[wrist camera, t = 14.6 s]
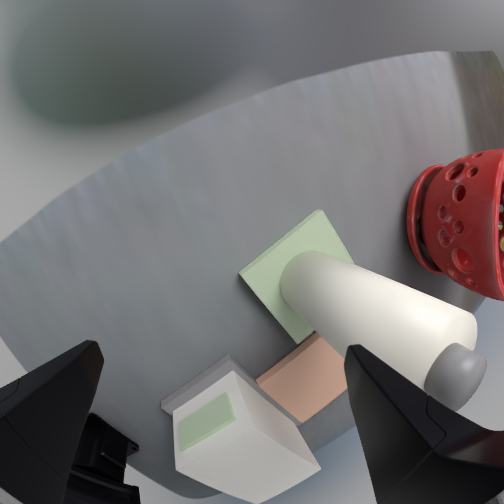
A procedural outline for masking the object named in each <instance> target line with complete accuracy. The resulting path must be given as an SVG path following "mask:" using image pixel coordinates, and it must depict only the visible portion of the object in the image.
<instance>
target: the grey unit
mask: <svg viewBox="0 0 504 504" xmlns="http://www.w3.org/2000/svg"><path fill="white" fill-rule="evenodd" d="M161 408H162V409H163V410H164V411H166V412H167V413H169V414H170V415H171V416H173V430H174V450H175V465H176V471H178V472H180V473H182V474H184V475H186V476H188V477H190V478H192V479H194V480H197V481H199V482H201V483H203V484H205V485H208V486H210V487H212V488H214V489H217V490H219V491H222V492H224V493H227V494H229V495H232V496H235V497H237V498H240V499H243V500H246V501H248V502H251V503H254V504H260V503H262V502H264V501H266V500H268V499H270V498H272V497H274V496H276V495H278V494H280V493H282V492H283V491H285V490H287V489H289V488H291V487H292V486H294V485H296V484H298V483H300V482H301V481H303V480H305V479H306V478H308V477H310V476H311V475H313V474H314V473H316V472H317V471H319V470H320V469H321V468H320V466H319V464H318V463H317V461H316V459H315V458H314V456H313V454H312V453H311V451H310V449H309V448H308V446H307V444H306V443H305V441H304V439H303V437H302V436H301V434H300V432H299V431H298V429H297V427H298V426H299V425H300V424H302V423H301V422H300V421H299V420H298V419H296V418H295V417H294V416H293V415H292V414H290V413H289V412H288V411H287V410H286V409H284V408H283V407H282V406H281V405H280V404H279V403H277V402H276V401H275V400H274V399H273V398H272V397H270V396H269V395H268V394H267V393H266V392H265V391H264V390H263V389H261V388H260V387H259V386H258V384H257V382H256V380H255V379H254V378H253V377H252V376H251V375H250V374H249V373H248V372H247V371H246V370H245V369H244V368H243V367H242V366H240V365H239V364H238V363H237V362H236V361H235V360H234V359H233V358H232V357H231V356H230V355H229V354H227V355H225V356H224V357H223V358H221V359H220V360H219V361H217V362H216V363H215V364H213V365H212V366H211V367H209V368H208V369H206V370H205V371H204V372H202V373H201V374H200V375H198V376H197V377H195V378H194V379H193V380H191V381H190V382H188V383H187V384H185V385H184V386H183V387H181V388H180V389H178V390H177V391H175V392H174V393H172V394H171V395H170V396H168V397H167V398H165V399H164V400H162V401H161Z"/></svg>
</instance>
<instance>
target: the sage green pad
mask: <svg viewBox="0 0 504 504" xmlns="http://www.w3.org/2000/svg"><path fill="white" fill-rule="evenodd" d="M308 250H316V251H320V252H323V253H326V254H328V255H331V256H333V257H336V258H338V259H341V260H344V261H346V262H349V263H351V264H354V262H353V261H352V259H351V257H350V256H349V254H348V252H347V250H346V249H345V247H344V245H343V244H342V242H341V240H340V239H339V237H338V235H337V234H336V232H335V230H334V229H333V227H332V225H331V224H330V222H329V220H328V219H327V217H326V216H325V214H324V212H323V211H322V210H315V211H314V212H313V213H311V214H310V215H309V216H308V217H307V218H305V219H304V220H303V221H302V222H300V223H299V224H298V225H297V226H295V227H294V228H293V229H292V230H291V231H289V232H288V233H287V234H286V235H284V236H283V237H282V238H281V239H279V240H278V241H277V242H276V243H275V244H273V245H272V246H271V247H270V248H268V249H267V250H266V251H265V252H263V253H262V254H261V255H260V256H258V257H257V258H256V259H255V260H253V261H252V262H251V263H250V264H249V265H247V266H246V267H245V268H244V269H242V270H241V271H240V272H239V274H240V275H241V276H242V278H243V279H244V280H245V281H246V283H247V284H248V285H249V286H250V288H251V289H252V290H253V291H254V292H255V294H256V295H257V296H258V297H259V299H260V300H261V301H262V302H263V303H264V305H265V306H266V307H267V308H268V310H269V311H270V312H271V313H272V314H273V316H274V317H275V318H276V319H277V320H278V322H279V323H280V324H281V325H282V326H283V328H284V329H285V330H286V331H287V332H288V334H289V335H290V336H291V337H292V338H293V340H294V341H295V342H296V343H297V344H299V343H300V342H301V341H302V340H304V339H305V338H306V337H307V336H308V335H310V334H311V333H312V332H313V331H314V329H313V328H312V327H311V326H310V325H309V324H308V323H307V322H306V321H305V320H304V319H303V318H302V317H301V316H300V315H299V314H298V313H296V312H295V311H294V310H293V309H292V308H291V307H290V306H289V305H288V304H287V303H286V301H285V300H284V298H283V296H282V294H281V290H280V279H281V275H282V272H283V270H284V268H285V266H286V265H287V263H288V262H289V261H290V260H291V259H292V258H293V257H294V256H296V255H297V254H299V253H301V252H304V251H308ZM354 265H355V264H354Z"/></svg>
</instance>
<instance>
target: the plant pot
mask: <svg viewBox="0 0 504 504" xmlns="http://www.w3.org/2000/svg"><path fill="white" fill-rule="evenodd" d="M503 176H504V149H494V150H487V151H481V152H477V153H474V154H471V155H468V156H465V157H462V158H459V159H457V160H455V161H453V162H452V163H450V164H448V165H447V166H443V165H435V166H431V167H429V168H427V169H426V170H424V171H423V172H422V173H421V175H420V176H419V177H418V179H417V180H416V181H415V183H414V185H413V187H412V190H411V193H410V196H409V200H408V206H407V217H406V222H407V233H408V239H409V243H410V246H411V249H412V251H413V254H414V256H415V257H416V259H417V261H418V262H419V263H420V265H421V266H422V267H423V268H425V269H426V270H427V271H429V272H431V273H434V274H444V273H445V274H446V275H447V276H448V277H450V278H451V279H452V280H454V281H455V282H457V283H458V284H460V285H462V286H464V287H466V288H468V289H469V290H471V291H473V292H476V293H479V294H481V295H484V296H486V297H489V298H492V299H496V300H500V301H504V267H503V265H504V251H503V250H502V249H501V247H500V244H501V240H502V239H503V237H504V211H503V212H502V213H501V212H499V205H500V204H502V205H503V207H504V177H503ZM499 220H500V221H501V222H502V224H503V226H502V229H499Z"/></svg>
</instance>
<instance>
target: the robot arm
mask: <svg viewBox="0 0 504 504" xmlns="http://www.w3.org/2000/svg"><path fill="white" fill-rule="evenodd" d="M103 364H104V358H103V355H102V352H101V350H100V347H99V345H98V343H97V342H96V341H92V340H86V341H84V342H82V343H81V344H79V345H77V346H75V347H73V348H72V349H70V350H68V351H66V352H65V353H63V354H61V355H59V356H57V357H56V358H54V359H52V360H50V361H49V362H47V363H45V364H43V365H41V366H40V367H38V368H36V369H34V370H33V371H31V372H29V373H27V374H25V375H24V376H22V377H21V378H18V379H17V380H15V381H13V382H11V383H9V384H7V385H6V386H4V387H2V388H0V504H141V503H140V494H139V487H137V486H131V485H128V484H124V471H125V468H126V460H127V456H129V455H131V454H133V453H135V452H137V451H139V445H137V444H136V443H134V442H133V441H131V440H130V439H128V438H127V437H125V436H124V435H123V434H121V433H120V432H118V431H117V430H116V429H114V428H113V427H111V426H110V425H109V424H107V423H106V422H105V421H104V420H102V419H101V418H100V417H98V416H97V415H96V414H94V413H89V410H90V408H91V405H92V402H93V399H94V396H95V393H96V390H97V386H98V382H99V378H100V375H101V371H102V368H103ZM344 372H345V377H346V383H347V388H348V394H349V400H350V405H351V409H352V412H353V416H354V419H355V423H356V426H357V429H358V433H359V436H360V440H361V443H362V447H363V451H364V454H365V458H366V461H367V466H368V469H369V473H370V477H371V481H372V485H373V489H374V493H375V497H376V501H377V504H504V431H493V430H489V429H486V428H483V427H481V426H480V425H478V424H476V423H474V422H472V421H470V420H469V419H467V418H465V417H463V416H461V415H460V414H458V413H456V412H455V411H453V410H451V409H450V408H448V407H446V406H445V405H443V404H442V403H440V402H439V401H437V400H436V399H435V398H433V397H432V396H431V395H428V394H427V393H426V392H425V391H423V390H422V389H421V388H419V387H418V386H417V385H415V384H414V383H412V382H411V381H410V380H408V379H407V378H406V377H404V376H403V375H401V374H400V373H399V372H397V371H396V370H395V369H393V368H392V367H391V366H389V365H388V364H386V363H385V362H384V361H382V360H381V359H380V358H378V357H377V356H376V355H374V354H373V353H371V352H370V351H369V350H367V349H366V348H365V347H363V346H362V345H360V344H354V345H349V346H348V348H347V352H346V356H345V360H344ZM88 413H89V414H88ZM92 417H93V418H92Z"/></svg>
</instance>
